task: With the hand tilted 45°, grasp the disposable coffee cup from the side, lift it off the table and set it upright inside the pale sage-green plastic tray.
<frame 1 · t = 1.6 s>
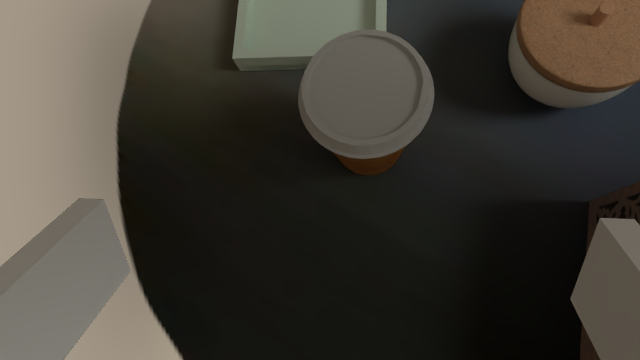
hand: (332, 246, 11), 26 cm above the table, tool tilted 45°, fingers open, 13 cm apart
lidded jar: (553, 73, 39), on the table
disposable coffee cup: (368, 144, 39), on the table
tray: (314, 5, 44), on the table
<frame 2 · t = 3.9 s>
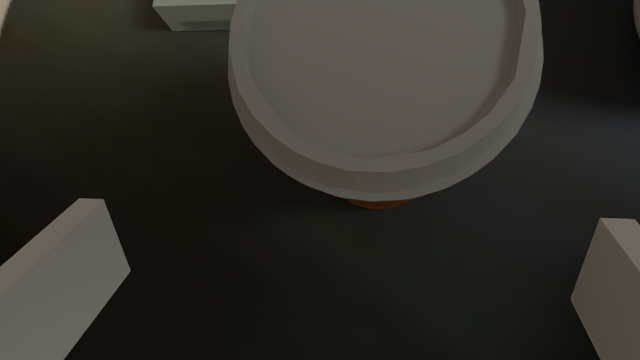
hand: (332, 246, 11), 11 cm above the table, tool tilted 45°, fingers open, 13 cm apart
disposable coffee cup: (377, 155, 23), on the table
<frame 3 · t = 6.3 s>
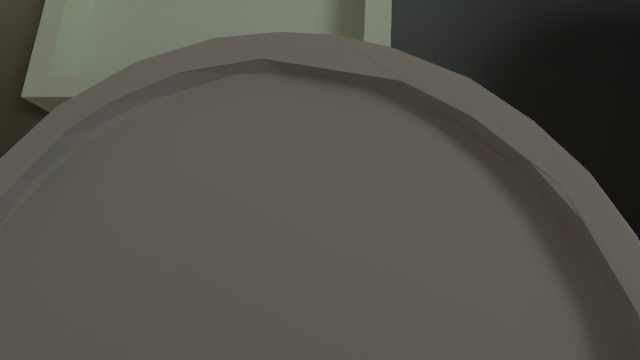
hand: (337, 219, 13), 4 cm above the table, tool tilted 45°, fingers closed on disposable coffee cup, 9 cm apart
disposable coffee cup: (343, 320, 16), on the table, touching gripper
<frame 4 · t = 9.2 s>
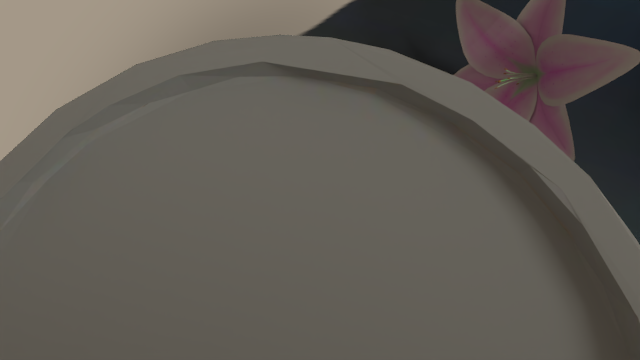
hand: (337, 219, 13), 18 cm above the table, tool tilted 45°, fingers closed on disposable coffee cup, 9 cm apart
lily: (496, 106, 31), on the table
disposable coffee cup: (342, 321, 16), point 14 cm above the table, touching gripper
when the fingers open (6 cm above the table, at t = 11.9 s): disposable coffee cup drops 1 cm, resting on tray.
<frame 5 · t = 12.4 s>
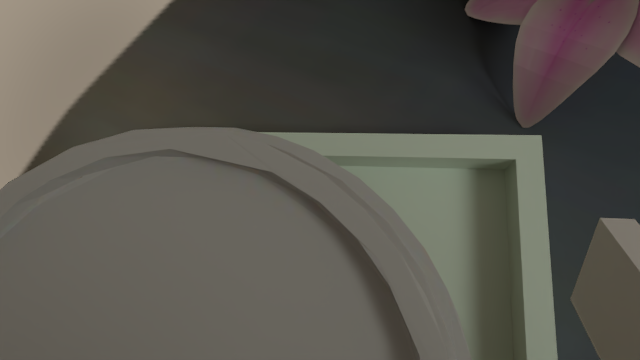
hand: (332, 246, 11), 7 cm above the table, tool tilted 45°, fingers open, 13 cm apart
lily: (553, 31, 20), on the table
disposable coffee cup: (295, 328, 17), point 1 cm above the table, touching gripper, tray
tray: (347, 316, 18), on the table
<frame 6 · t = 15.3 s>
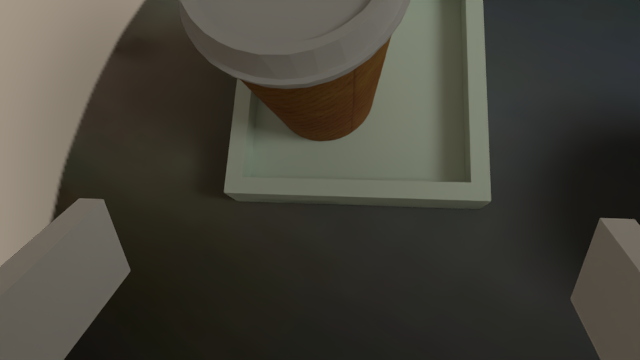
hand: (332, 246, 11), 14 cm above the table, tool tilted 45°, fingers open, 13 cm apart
disposable coffee cup: (325, 97, 27), point 1 cm above the table, touching tray
tray: (358, 94, 27), on the table
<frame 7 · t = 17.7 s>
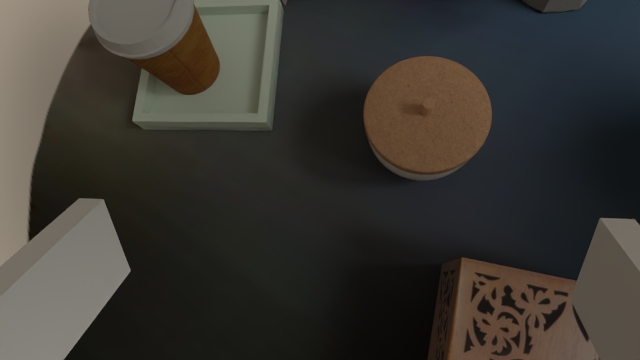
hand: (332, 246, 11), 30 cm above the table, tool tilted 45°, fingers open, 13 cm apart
lidded jar: (417, 142, 43), on the table
disposable coffee cup: (194, 70, 47), point 1 cm above the table, touching tray
tray: (215, 69, 48), on the table
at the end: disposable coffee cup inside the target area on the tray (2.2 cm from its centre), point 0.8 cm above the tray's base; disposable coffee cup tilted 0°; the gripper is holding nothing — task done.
